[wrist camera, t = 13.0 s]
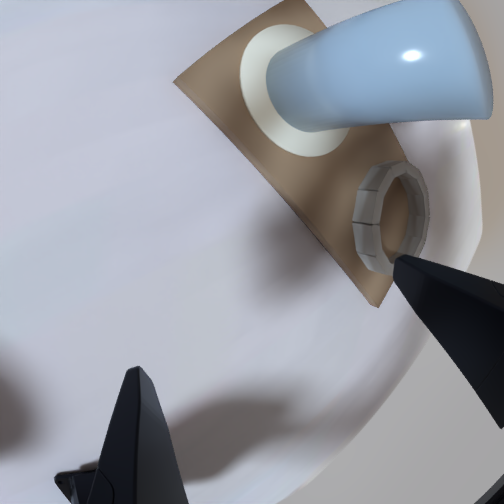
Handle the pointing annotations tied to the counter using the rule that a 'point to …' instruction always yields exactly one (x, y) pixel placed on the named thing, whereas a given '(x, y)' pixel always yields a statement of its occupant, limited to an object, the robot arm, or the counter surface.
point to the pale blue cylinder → (384, 70)
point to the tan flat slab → (315, 154)
